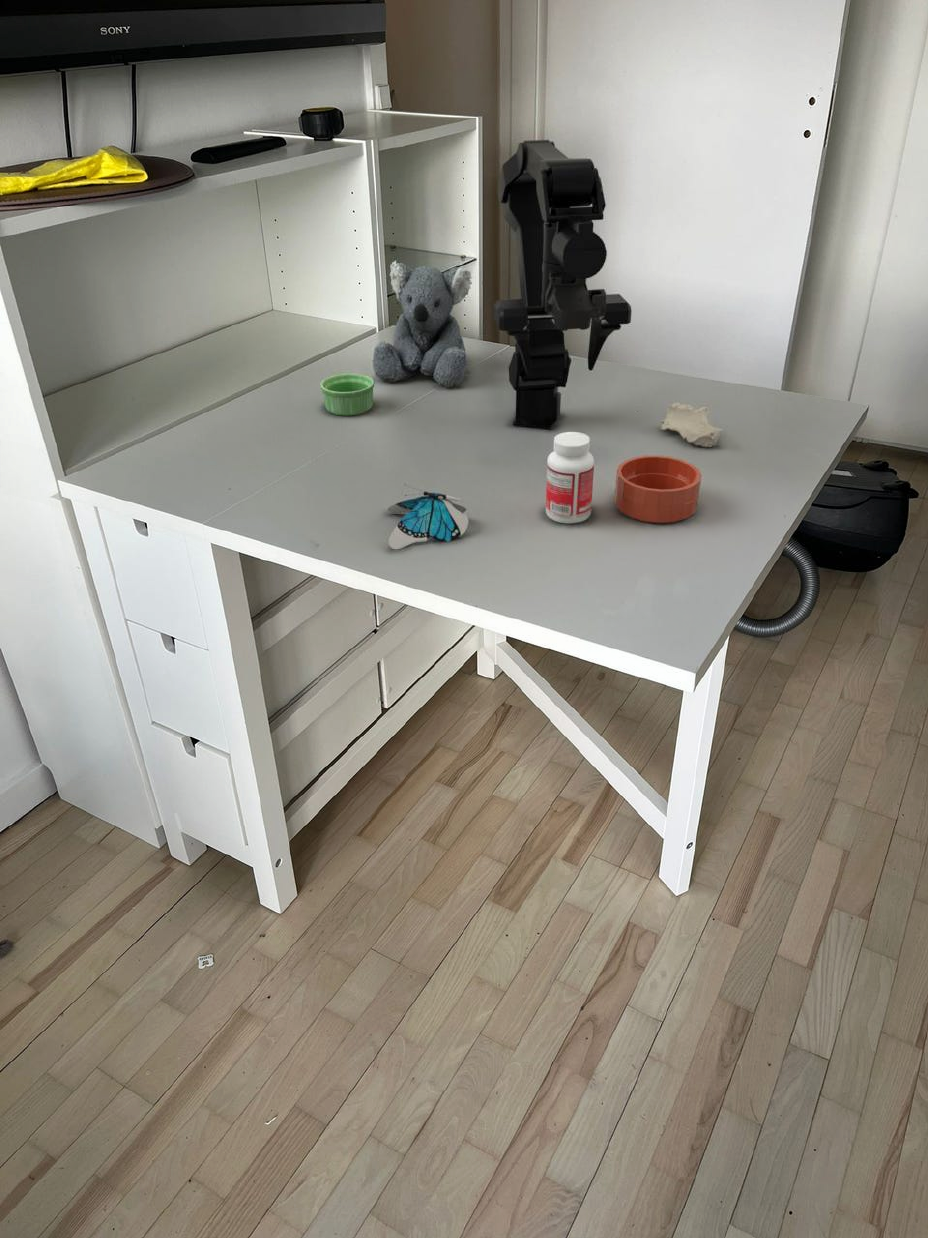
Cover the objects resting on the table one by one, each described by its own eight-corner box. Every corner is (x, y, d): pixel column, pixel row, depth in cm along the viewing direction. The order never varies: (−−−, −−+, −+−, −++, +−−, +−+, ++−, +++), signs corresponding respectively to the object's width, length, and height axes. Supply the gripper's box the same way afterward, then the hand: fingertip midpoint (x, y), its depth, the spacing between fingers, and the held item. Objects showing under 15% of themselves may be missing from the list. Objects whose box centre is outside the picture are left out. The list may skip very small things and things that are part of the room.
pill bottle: (584, 502, 133) (589, 427, 127) (595, 523, 128) (601, 446, 122) (541, 505, 133) (543, 430, 126) (550, 526, 127) (553, 449, 121)
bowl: (607, 518, 129) (610, 485, 126) (621, 483, 138) (624, 451, 135) (691, 529, 126) (696, 495, 124) (700, 493, 135) (705, 460, 132)
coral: (709, 452, 146) (713, 425, 144) (653, 433, 153) (655, 407, 150) (729, 441, 150) (733, 414, 147) (673, 423, 156) (676, 397, 153)
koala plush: (368, 383, 173) (361, 272, 162) (397, 351, 187) (391, 247, 176) (462, 390, 169) (461, 277, 158) (483, 357, 184) (484, 251, 173)
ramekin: (313, 413, 161) (310, 388, 159) (338, 395, 168) (336, 370, 166) (360, 420, 159) (358, 395, 156) (384, 401, 165) (383, 376, 163)
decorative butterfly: (475, 517, 121) (398, 503, 119) (463, 561, 125) (387, 548, 123) (468, 482, 130) (395, 469, 128) (457, 524, 133) (386, 511, 131)
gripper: (506, 278, 123) (505, 395, 132) (647, 271, 125) (637, 387, 134) (493, 257, 132) (492, 368, 141) (624, 251, 134) (616, 360, 143)
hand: (559, 371), depth 139 cm, fingers open, 9 cm apart
